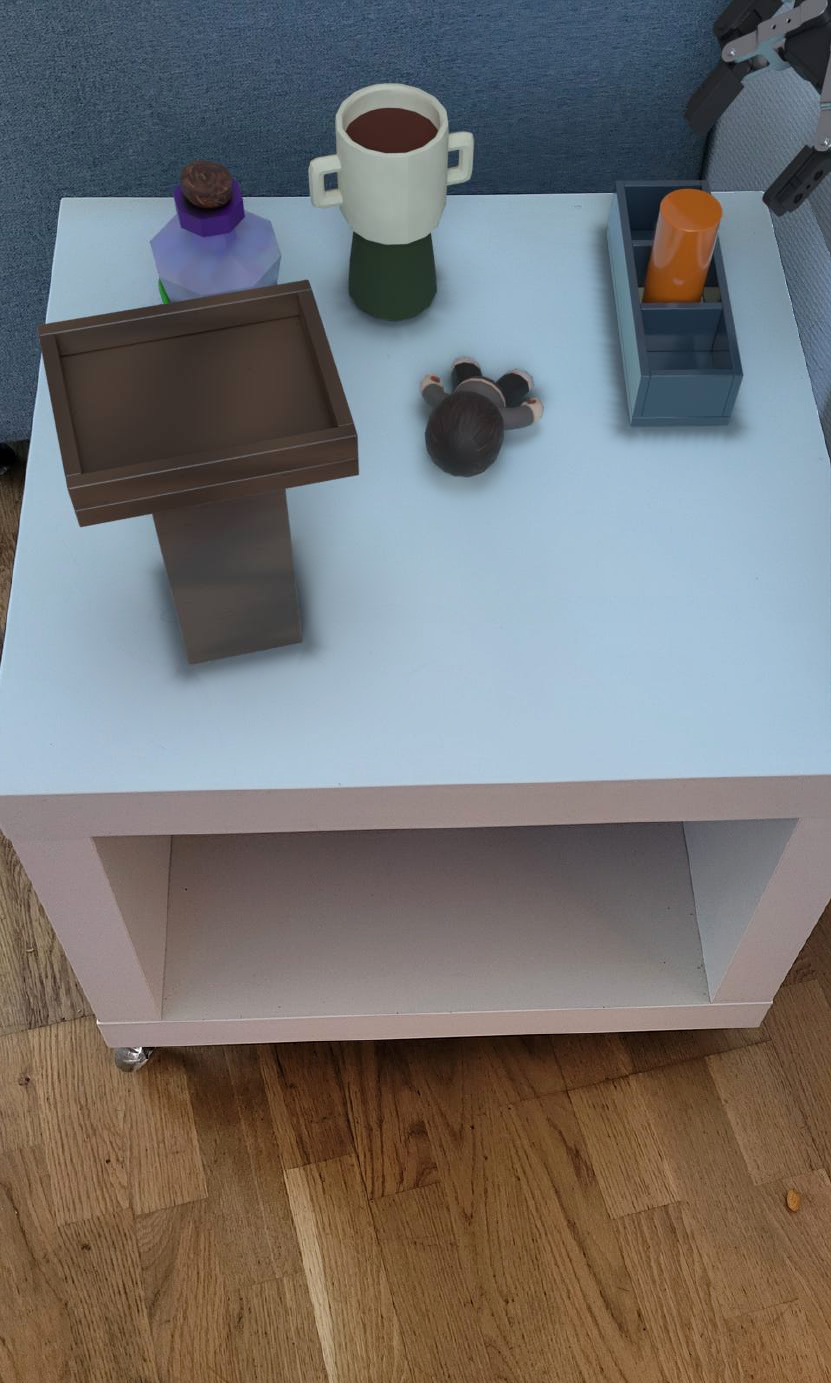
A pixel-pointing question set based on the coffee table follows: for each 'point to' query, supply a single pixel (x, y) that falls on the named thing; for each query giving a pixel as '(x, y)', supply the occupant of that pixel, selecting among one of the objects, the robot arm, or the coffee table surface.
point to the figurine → (475, 416)
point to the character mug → (391, 192)
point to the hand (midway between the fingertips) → (730, 168)
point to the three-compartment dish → (669, 322)
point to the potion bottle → (213, 239)
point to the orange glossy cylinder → (682, 247)
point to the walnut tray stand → (205, 445)
